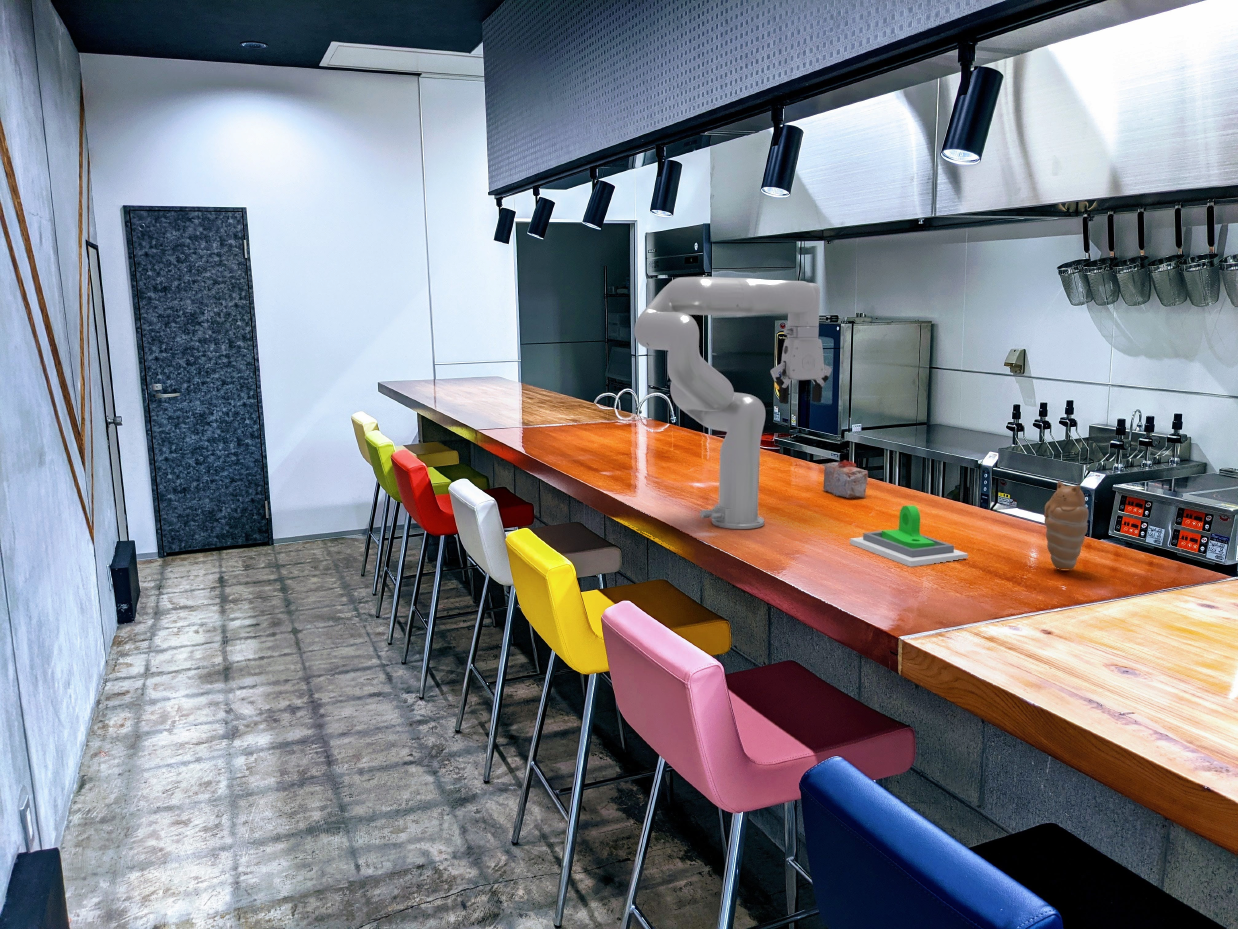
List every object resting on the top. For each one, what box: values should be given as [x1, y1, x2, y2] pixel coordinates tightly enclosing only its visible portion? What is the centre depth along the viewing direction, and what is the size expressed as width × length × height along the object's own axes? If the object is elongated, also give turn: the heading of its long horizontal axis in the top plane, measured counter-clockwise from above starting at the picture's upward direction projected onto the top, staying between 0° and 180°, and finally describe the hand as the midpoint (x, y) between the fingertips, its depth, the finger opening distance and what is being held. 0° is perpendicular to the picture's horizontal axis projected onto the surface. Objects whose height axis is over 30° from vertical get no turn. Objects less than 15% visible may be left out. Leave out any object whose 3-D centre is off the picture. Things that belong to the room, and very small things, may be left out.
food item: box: [822, 459, 869, 499], centre depth 260 cm, size 14×8×10 cm, turn 22°
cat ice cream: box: [1043, 480, 1089, 570], centre depth 185 cm, size 9×8×18 cm
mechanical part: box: [881, 504, 935, 549], centre depth 201 cm, size 12×6×8 cm, turn 11°
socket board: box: [849, 528, 969, 568], centre depth 201 cm, size 15×20×3 cm
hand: (800, 402), depth 233 cm, fingers open, 9 cm apart
